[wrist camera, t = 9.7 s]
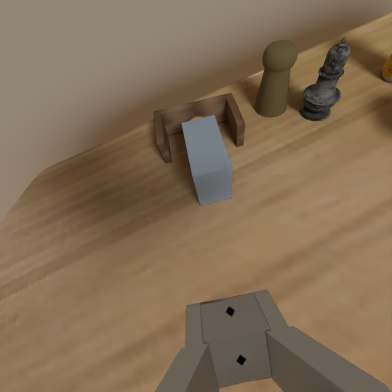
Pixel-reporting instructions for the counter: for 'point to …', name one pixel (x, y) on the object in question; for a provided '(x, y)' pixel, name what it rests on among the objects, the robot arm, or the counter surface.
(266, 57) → the olive pawn
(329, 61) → the grey chess bishop
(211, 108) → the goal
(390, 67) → the beer can
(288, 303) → the counter surface
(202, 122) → the block
